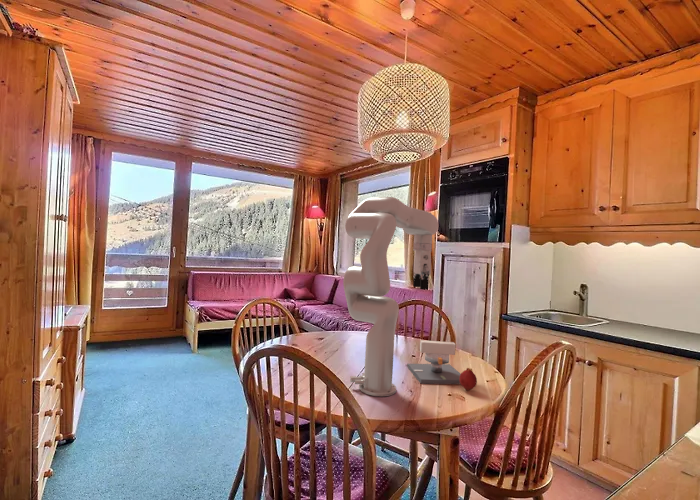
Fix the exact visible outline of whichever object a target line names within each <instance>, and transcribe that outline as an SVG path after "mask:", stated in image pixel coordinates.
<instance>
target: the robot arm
mask: <svg viewBox="0 0 700 500" xmlns="http://www.w3.org/2000/svg"><path fill="white" fill-rule="evenodd" d="M344 227H345V232H346V233H347V235H348V236H349V237H350V238H353V239H360V240H361V239H363V240H364V239H365V240H366V239H367V240H368V241H367V242H366V243H365V245H364V246H363V248H362V250H361V251H360V255H359V259H360V260H359V261H360V265H352V266H350V267H348V268H347V269H346V271H345V273H344V275H343V280H342V282H343V283H342V285H343V291H344V295H345V300H346V304H347V305H346V306H347V309H348V313H349V316H350V317H351V318H352V319H353V320H355V321H358V322H364V323H370V324H373V326H372V327H371V328H370V330H369V331H368V332H367V335H366V336H365V337H366V338H365V356H364V357H365V358H364V371H363V372H362V375H358V376H356V375H353V376H352V375H351V376H350V377H349V378H350V381H349V383H354V385H358V388H359V390H360V392H362V393H363V394H366V395H368V396H373V397H389V396H393V395H394V394H395V393H397V386H396V385H395V384H394V383H393V372H394V371H393V369H394V355H395V353H394V352H395V351H394V350H395V335H396V329H397V328H396V326H397V322H398V317H399V314H400V313H399V312H400V308H399V303H398V302H397V300H395V299H394V298H392V297H389V296H387V294H388V293H389V292H390V290H391V280H390V273H389V266H388V256H387V255H388V249H389V246H390V244H391V241H392V239H393V237H394V234H395V233H396V229H397V228H399V229H402V230H403V232H404V233H405V234H407V235H412V236H413V251H414V259H413V287H414V288H419V289H420V290H426V291H427V290H428V289H429V280H430V279H429V277H430V275H432V249H433V248H432V246H433V236H434V235H435V234H437V232H438V230H439V221H438V219H437V217H436V216H435V215H434V214H433V213H432V212H429V211H426V210H422V209H418V208H415V207H411V206H409V205H407V204H406V203H403V201H401V200H399V199H398V198H396V197H393V196H379V197H376V196H374V197H368V198H366V199H364V200H363V201H361V202H360V203H359V204H358V205H357V207H356V208H354V210H352V211H351V212H350V213H349V215H348V216H347V217H346V220H345V224H344Z"/></svg>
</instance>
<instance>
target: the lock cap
mask: <svg viewBox="0 0 700 500" xmlns="http://www.w3.org/2000/svg"><path fill="white" fill-rule="evenodd" d="M419 342H420V343H419V352H420V353H422V354H425V355H424V359H425V361H426V362H428V363H430V364H431V363H435V364H441V365H442V364H449V363H450V356H451V355H452V356H455V355H456V348H457V347H456V343H455V342H454V341H438V340H421V339H420V340H419Z"/></svg>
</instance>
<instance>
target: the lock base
mask: <svg viewBox="0 0 700 500" xmlns="http://www.w3.org/2000/svg"><path fill="white" fill-rule="evenodd" d="M406 367H407V369H408V370H409V371H410V372H411V374H412V375H413V376H414V378H416V380H417V381H418V382H419V383H420V385H421V384H423V385H424V384H427V385H429V384H430V385H434V384H435V385H461V384H460V381H459V378H460V375H461V373H462V372H461V373H460V371H458V370H457V369H456V368H454V366H452V365H451V363H450V364H449V363H447V364H442V365H441V364H435V363H431V362H430V363H407V365H406Z"/></svg>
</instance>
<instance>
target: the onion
mask: <svg viewBox="0 0 700 500" xmlns="http://www.w3.org/2000/svg"><path fill="white" fill-rule="evenodd" d="M465 369H466V370H463V371H462V372H461V375H460V378H459V381H460V384H459V385H461V387H462V388H463V389H464V390H465V391H467V392H468V391H471V390H473V389H474V388H475V387H476V386H477V383H478V380H477V379H478V378H477V376H476V374H475V373H474V372H473V371H472V370H471V369H470V367H466V368H465Z"/></svg>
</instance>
